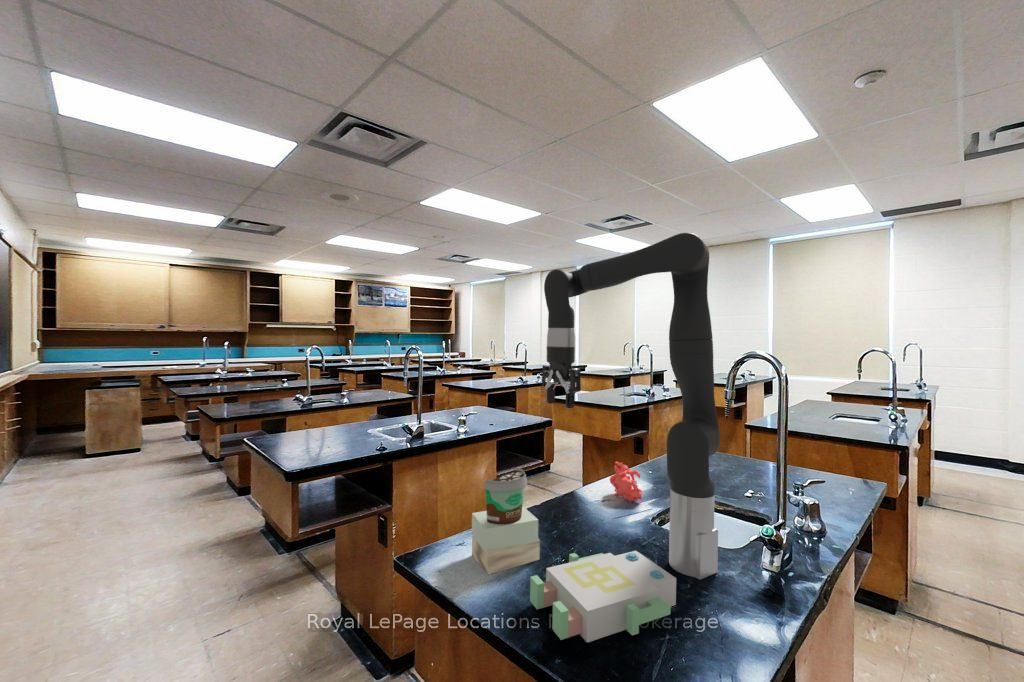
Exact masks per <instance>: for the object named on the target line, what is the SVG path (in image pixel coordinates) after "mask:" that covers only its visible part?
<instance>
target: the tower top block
mask: <svg viewBox="0 0 1024 682" xmlns="http://www.w3.org/2000/svg"><path fill="white" fill-rule="evenodd" d="M471 536H473V537H474V538H475V539H476V541H477V542H478V543H479V545H480V546H481V548H482V549H483V550H484V552H488V551H493V550H498V549H503V548H508V547H513V546H518V545H523V544H528V543H533V542H538V539H539V519H538V518H537V517H536V516H535V515H533V513H531V512H530V511H529V510H528V509H527V508H526V507H525V506H523V505H522V514H521V519H520V520H519V521H517V522H515V523H512V524H505V525H503V524H492V523H488V522H487V510H481V511H476V512H472V513H471Z"/></svg>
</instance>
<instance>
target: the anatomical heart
mask: <svg viewBox="0 0 1024 682" xmlns="http://www.w3.org/2000/svg"><path fill="white" fill-rule="evenodd" d="M614 463H615V465H614V467H613V468H614V471H615V473H614V474H613V475H611V476H610V477H609V482H610V483H611V486H613V488H614V491H615V493H614V496H615V497H618V496H619V497H620V498H621V497H622V496H623V498H624V500H625V501H629V503H632V502H638V501H639V500H642V499H643V497H642V495H643V491H642V490H641V488H639V487H638V482H637V480H635V476H636V477H637V478H639V479H641V473H640V472H639V471H638V470H637V469H635V470H630V469H629V467H628V465H627V464H623V462H619V461H615V462H614Z"/></svg>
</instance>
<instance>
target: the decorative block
mask: <svg viewBox="0 0 1024 682" xmlns="http://www.w3.org/2000/svg"><path fill="white" fill-rule="evenodd" d="M545 570H546V571H545V581H543V580H542V579H541V577H540V576H539V575H538V574H536V575H535V574H534V575H532V576H530V579H529V580H530V581H529V582H530V583H529V602H530V603H531V604H532V605H533V607H534V608H535V609H536V610H540V609H544V608H547V607H550V606H551V607H552V623H551V624H552V625H551V627H552V629H551V630H553V632H554V633H555V635H556V636H557V637H558V638H559V640H560V641H562V640H565V639H569V638H573V637H575V636H577V635H580V637H581V638H582V639H583V640H584V642H586V643H591V642H593V641H596V640H600V639H602V638H604V637H608V636H611V635H613V634H617V633H620V632H624V631H626V632H628V633H629V634H630V635H631V636H635V635H638V634H640V626H641V625H643V624H646V623H649V622H652V621H655V620H657V619H660V618H663V617H667V616H669V615H671V611H672V610H671V609H672V607H671V606H674V605H677V601H676V600H677V577H675V576H673V575H672V574H670V572H668V571H666V570H665V569H663V568H662V567H661V566H659V565H657V564H656V563H655V562H654V561H652V560H651V559H649V558H648V557H646V556H645V555H643V554H642V553H640V552H638V551H637V550H633V551H628V552H625V553H622V554H617V555H614V554H613V553H612V552H608V553H603V552H600V553H597V554H592V555H588V556H584V557H579V555H578V554H577V553H576V552H573V553H569V554H568V562H567V563H566V562H565V563H562V564H558V565H554V566H549V567H546V568H545ZM674 607H675V606H674Z"/></svg>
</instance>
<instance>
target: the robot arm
mask: <svg viewBox="0 0 1024 682" xmlns="http://www.w3.org/2000/svg"><path fill="white" fill-rule="evenodd" d="M709 265H710V251H709V248H708V246H707V244H706V243H705V241H704V240H703V239H702V238H701V237H700V236H698V235H697V234H695V233H693V232H679V233H677V234H675V235H671V236H670V237H668V238H665V239H662V240H660V241H658V242H656V243H653V244H651V245H649V246H645V247H643V248H641V249H637V250H634V251H632V252H629V253H624V254H621V255H618V256H614V257H610V258H606V259H602V260H598V261H594V262H590V263H589V262H588V263H587V264H584V265H583V266H581V267H580V269H576V270H573V271H566V270H563V269H560V268H557V269H552V270H551V271H550V272H548V273H547V275H546V276H545V279H544V285H543V289H544V297H545V298H544V299H545V302H546V308H547V312H548V314H547V315H548V316H547V317H548V319H547V335H546V362H547V363H548V364H549V363H550V364H549V365H548V364H547V365H546V364H545V365H542V370H541V372H542V373H541V386H542V387H544V388H545V390H546V404H555V402H556V390H555V389H556V386H557V385H558V384H560V385H561V386H562V388H564V390H565V408H567V409H573V408H574V407H575V397H576V396H575V395H576V393H578V392H581V385H582V384H581V369H580V368H578V367H577V368H573V367H572V366H573V364H574V363H575V361H576V355H575V354H576V334H575V311H574V308H573V307H572V306H571V305H570V299H569V298H574V297H577V296H581V295H583V294H585V293H588V292H591V291H598V290H602V289H607V288H612V287H615V286H618V285H622V284H624V283H626V282H629V281H631V280H633V279H636V278H639V277H643V276H645V275H646V276H647V275H651V274H661V273H671V274H670V275H671V280H672V287H673V306H672V312H671V317H670V322H669V329H668V330H669V331H668V345H669V346H668V347H669V361H670V366H671V370H672V373H673V374H674V376H675V381H676V382H677V384H678V387H679V390H680V394H681V400H682V421H678V422H677V423H675V424H674V425H672V426H671V427H670V429H669V431H668V434H667V438H666V471H667V476H668V478H669V479H668V480H669V482H670V484H669V485H670V487H669V489H670V490H669V492H670V493H669V530H668V531H669V532H668V533H669V537H668V538H669V539H668V540H669V541H668V543H669V544H668V545H669V546H668V550H669V551H668V563H669V566H670V567H671V568H672V569H673V570H674V571H676V572H678V573H680V574H682V575H685V576H688V577H692V578H696V579H698V580H703V579H705V578H708V577H709V576H712V575H714V574H716V573H717V574H718V564H719V563H718V557H719V556H718V555H719V553H718V551H719V530H718V529H717V528H715V497H716V496H715V492H716V483H715V482H714V479H712V478H711V477H710V463H709V462H710V457H712V456H714V455H715V454H716V453H717V452H718V450H719V448H720V444H721V431H720V426H719V420H718V414H717V408H716V407H717V406H716V401H715V399H716V398H715V373H714V371H715V369H714V342H713V341H714V340H713V332H712V320H711V319H712V318H711V313H710V306H709V301H708V279H709V278H708V276H709Z"/></svg>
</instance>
